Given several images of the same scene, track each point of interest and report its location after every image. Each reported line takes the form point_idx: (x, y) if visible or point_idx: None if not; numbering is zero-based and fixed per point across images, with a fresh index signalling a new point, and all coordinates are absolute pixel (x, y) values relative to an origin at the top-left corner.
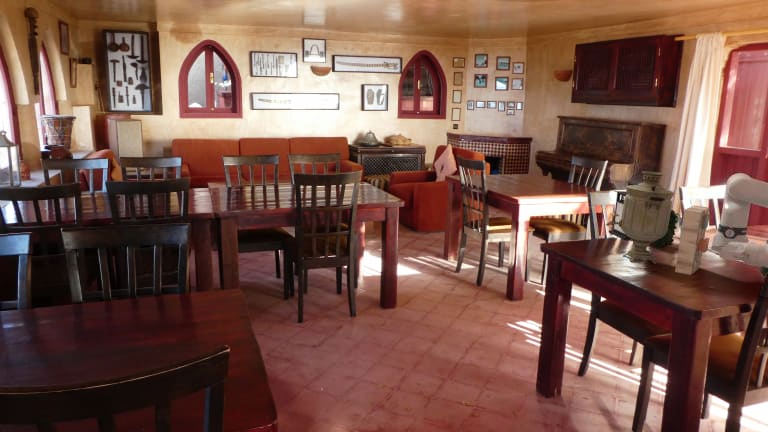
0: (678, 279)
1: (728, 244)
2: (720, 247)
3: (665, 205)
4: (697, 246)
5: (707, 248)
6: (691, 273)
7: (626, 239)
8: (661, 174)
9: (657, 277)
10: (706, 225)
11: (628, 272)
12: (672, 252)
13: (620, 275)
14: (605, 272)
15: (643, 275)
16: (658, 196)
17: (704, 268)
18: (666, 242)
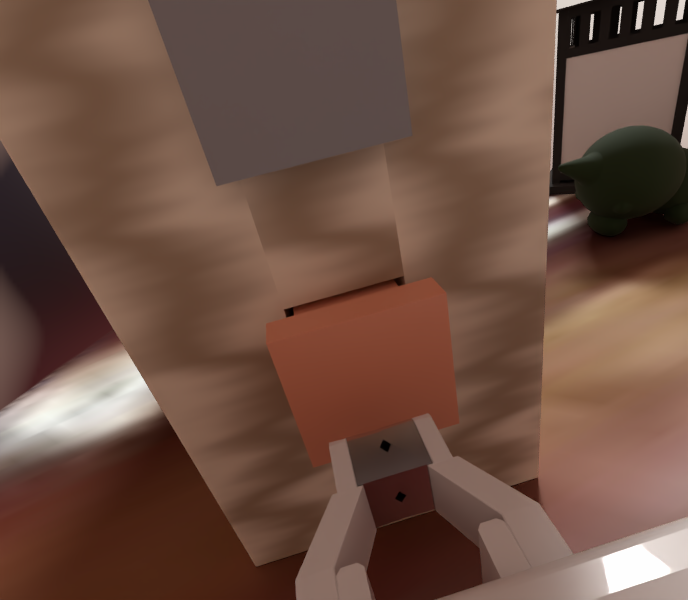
0: (66, 590)
1: (610, 583)
2: (296, 579)
3: None
4: (270, 375)
5: (437, 406)
6: (273, 555)
7: (549, 192)
8: None
9: (55, 499)
10: (308, 110)
11: (87, 404)
12: (629, 271)
13: (16, 419)
14: (41, 382)
15: (64, 451)
16: None
17: (567, 503)
18: (647, 212)
